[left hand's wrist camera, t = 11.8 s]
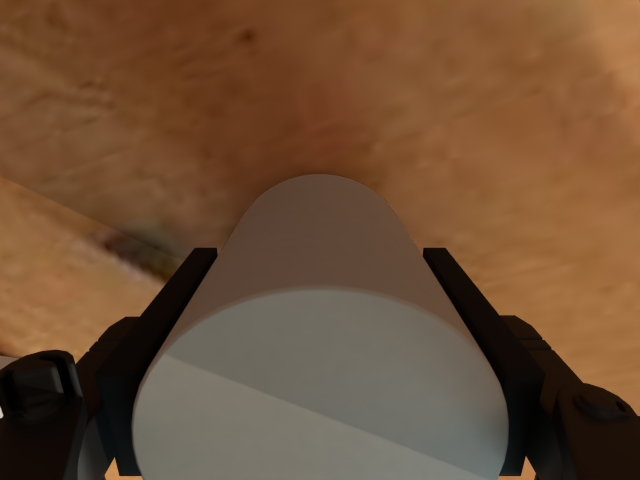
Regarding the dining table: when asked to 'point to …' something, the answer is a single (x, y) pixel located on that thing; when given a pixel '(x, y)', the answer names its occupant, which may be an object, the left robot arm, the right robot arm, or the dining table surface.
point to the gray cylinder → (320, 356)
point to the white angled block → (3, 361)
